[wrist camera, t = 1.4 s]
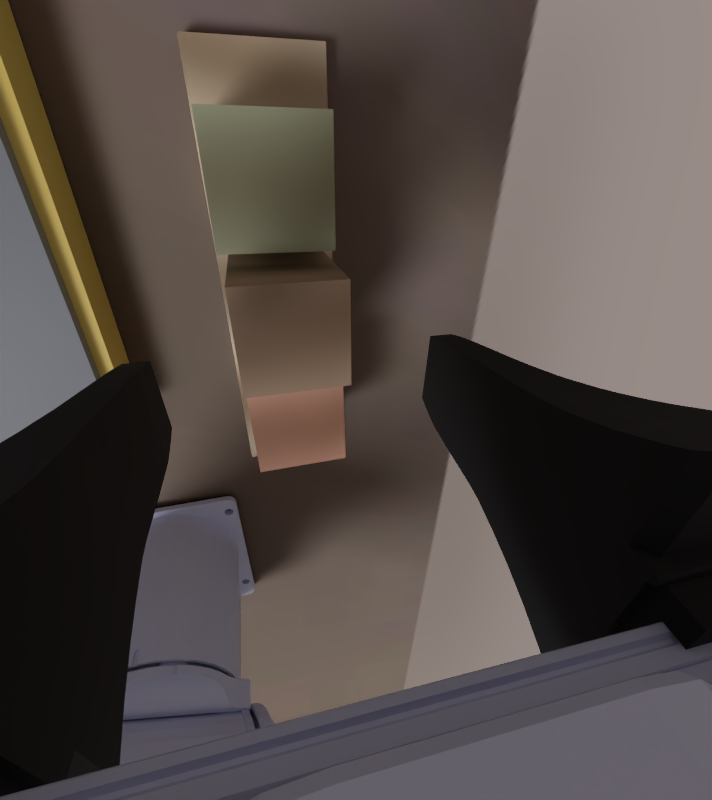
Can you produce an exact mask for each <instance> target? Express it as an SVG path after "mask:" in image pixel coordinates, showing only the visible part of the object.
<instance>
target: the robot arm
mask: <svg viewBox="0 0 712 800" xmlns="http://www.w3.org/2000/svg"><path fill="white" fill-rule="evenodd" d="M422 398H423V401H424V403H425V406H426V408H427V411H428V413H429V416H430V418H431V420H432V422H433V425H434V427H435V428H436V430H437V432H438V433H439V435H440V437H441V438H442V440H443V442H444V443H445V445H446V447H447V448H448V450H449V452H450V453H451V455H452V456H453V458H454V460H455V461H456V463H457V464H458V466H459V468H460V469H461V471H462V473H463V474H464V476H465V477H466V479H467V481H468V482H469V484H470V485H471V487H472V489H473V491H474V493H475V494H476V496H477V498H478V500H479V502H480V504H481V506H482V509H483V511H484V513H485V515H486V517H487V519H488V521H489V523H490V526H491V528H492V530H493V532H494V534H495V537H496V539H497V541H498V544H499V546H500V548H501V550H502V553H503V555H504V557H505V560H506V562H507V564H508V567H509V569H510V572H511V574H512V577H513V579H514V582H515V584H516V587H517V589H518V592H519V595H520V597H521V599H522V602H523V605H524V607H525V610H526V613H527V616H528V618H529V621H530V624H531V626H532V630H533V632H534V635H535V638H536V641H537V643H538V646H539V649H540V652H541V654H539V655H534V656H531V657H527V658H523V659H519V660H516V661H512V662H508V663H504V664H500V665H497V666H493V667H489V668H485V669H481V670H478V671H474V672H470V673H466V674H463V675H459V676H455V677H451V678H448V679H444V680H440V681H436V682H432V683H429V684H425V685H421V686H417V687H414V688H410V689H406V690H402V691H398V692H394V693H391V694H387V695H383V696H379V697H376V698H372V699H368V700H364V701H360V702H357V703H353V704H349V705H345V706H341V707H338V708H334V709H330V710H326V711H323V712H319V713H315V714H311V715H307V716H304V717H300V718H296V719H292V720H288V721H285V722H281V723H277V724H275V723H274V722H273V720H272V719H271V717H270V715H269V713H268V711H267V709H266V708H265V707H264V705H262V704H260V703H254V704H251V701H250V680H249V679H241V596H242V595H246V594H250V593H252V592H253V591H254V590H255V584H254V579H253V575H252V570H251V566H250V561H249V557H248V552H247V548H246V543H245V539H244V534H243V530H242V525H241V521H240V516H239V512H238V507H237V503H236V500H235V498H233V497H231V496H225V497H220V498H214V499H208V500H202V501H197V502H191V503H185V504H179V505H174V506H168V507H162V508H156V505H157V502H158V498H159V494H160V491H161V487H162V483H163V480H164V476H165V472H166V468H167V464H168V460H169V452H170V443H171V432H172V426H171V423H170V420H169V417H168V414H167V411H166V408H165V405H164V402H163V399H162V396H161V393H160V390H159V387H158V384H157V381H156V378H155V375H154V372H153V369H152V366H151V363H150V361H149V362H138V363H126V364H121V365H119V366H117V367H116V368H114V369H112V370H111V371H109V372H108V373H106V374H105V375H103V376H102V377H100V378H99V379H97V380H96V381H94V382H93V383H91V384H90V385H89V386H87V387H86V388H84V389H83V390H81V391H80V392H78V393H77V394H76V395H74V396H73V397H71V398H70V399H68V400H67V401H65V402H64V403H63V404H61V405H60V406H58V407H57V408H55V409H54V410H52V411H50V412H49V413H47V414H46V415H44V416H43V417H41V418H39V419H38V420H36V421H35V422H33V423H32V424H30V425H28V426H27V427H25V428H24V429H22V430H21V431H19V432H18V433H16V434H14V435H13V436H11V437H9V438H8V439H6V440H4V441H2V442H1V443H0V800H712V411H711V410H705V409H699V408H693V407H685V406H680V405H674V404H668V403H663V402H657V401H652V400H647V399H643V398H638V397H634V396H629V395H625V394H620V393H616V392H612V391H608V390H604V389H600V388H597V387H593V386H590V385H586V384H583V383H580V382H576V381H573V380H570V379H566V378H563V377H560V376H557V375H554V374H552V373H549V372H546V371H544V370H541V369H538V368H536V367H533V366H530V365H528V364H525V363H523V362H520V361H518V360H515V359H513V358H511V357H508V356H506V355H504V354H501V353H499V352H497V351H494V350H492V349H490V348H487V347H485V346H482V345H480V344H478V343H475V342H473V341H470V340H468V339H465V338H462V337H459V336H456V335H452V334H449V335H438V336H430V343H429V351H428V358H427V366H426V374H425V381H424V389H423V396H422ZM227 509H232V510H227Z"/></svg>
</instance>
